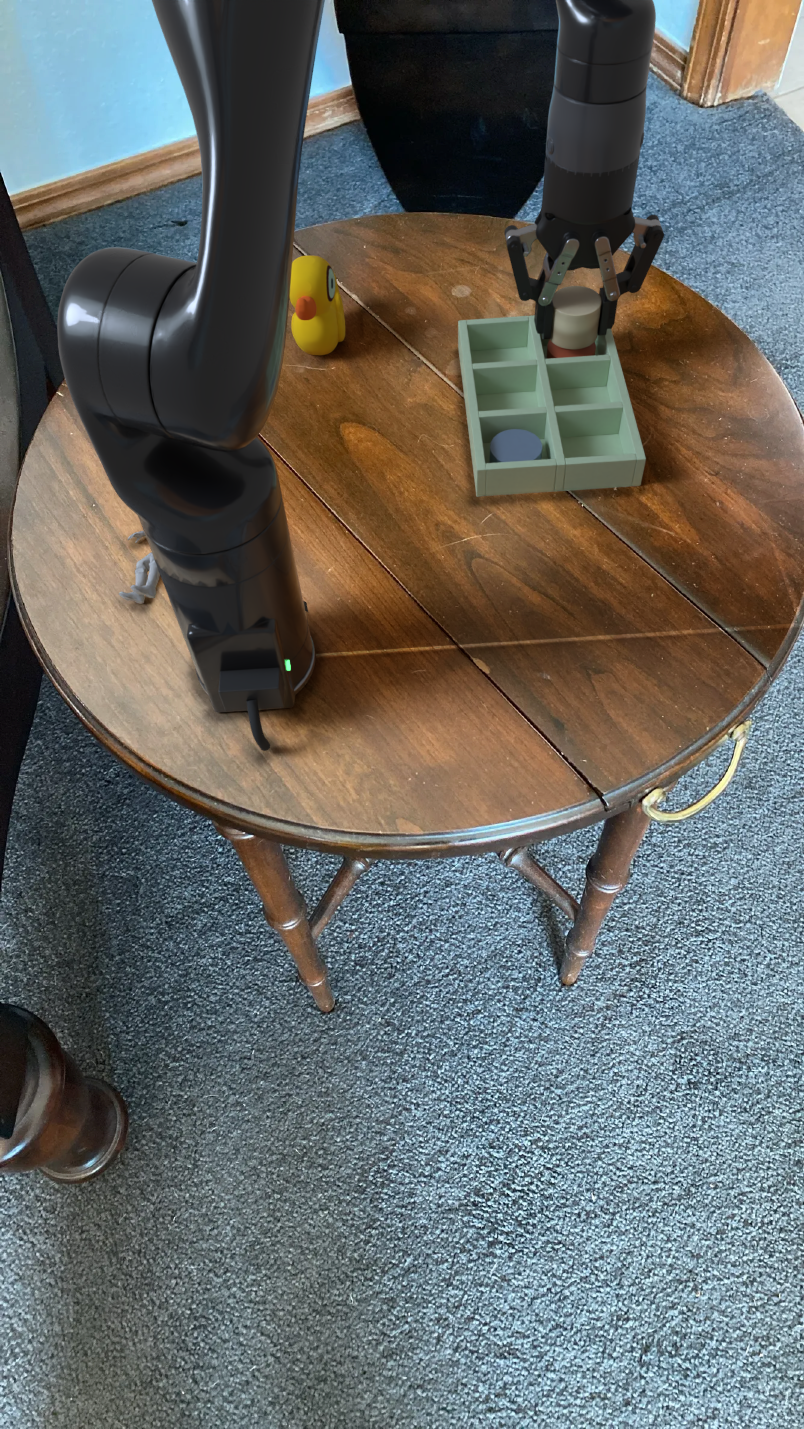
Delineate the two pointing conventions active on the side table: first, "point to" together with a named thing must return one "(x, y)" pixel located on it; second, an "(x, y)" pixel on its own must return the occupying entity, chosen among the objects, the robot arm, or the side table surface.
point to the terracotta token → (568, 351)
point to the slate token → (515, 446)
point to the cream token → (575, 317)
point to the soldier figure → (143, 576)
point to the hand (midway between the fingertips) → (572, 331)
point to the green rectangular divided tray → (546, 410)
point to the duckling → (316, 306)
